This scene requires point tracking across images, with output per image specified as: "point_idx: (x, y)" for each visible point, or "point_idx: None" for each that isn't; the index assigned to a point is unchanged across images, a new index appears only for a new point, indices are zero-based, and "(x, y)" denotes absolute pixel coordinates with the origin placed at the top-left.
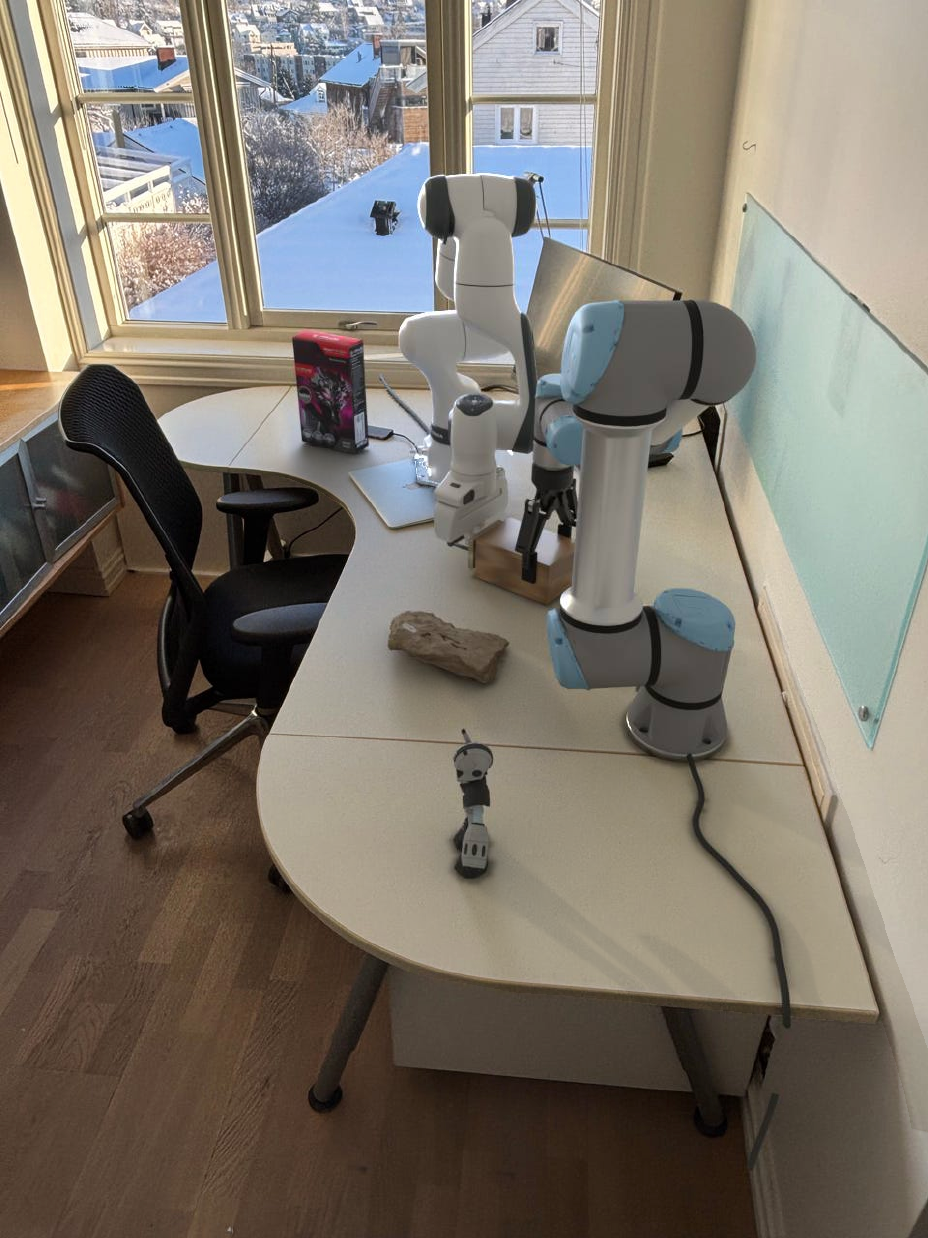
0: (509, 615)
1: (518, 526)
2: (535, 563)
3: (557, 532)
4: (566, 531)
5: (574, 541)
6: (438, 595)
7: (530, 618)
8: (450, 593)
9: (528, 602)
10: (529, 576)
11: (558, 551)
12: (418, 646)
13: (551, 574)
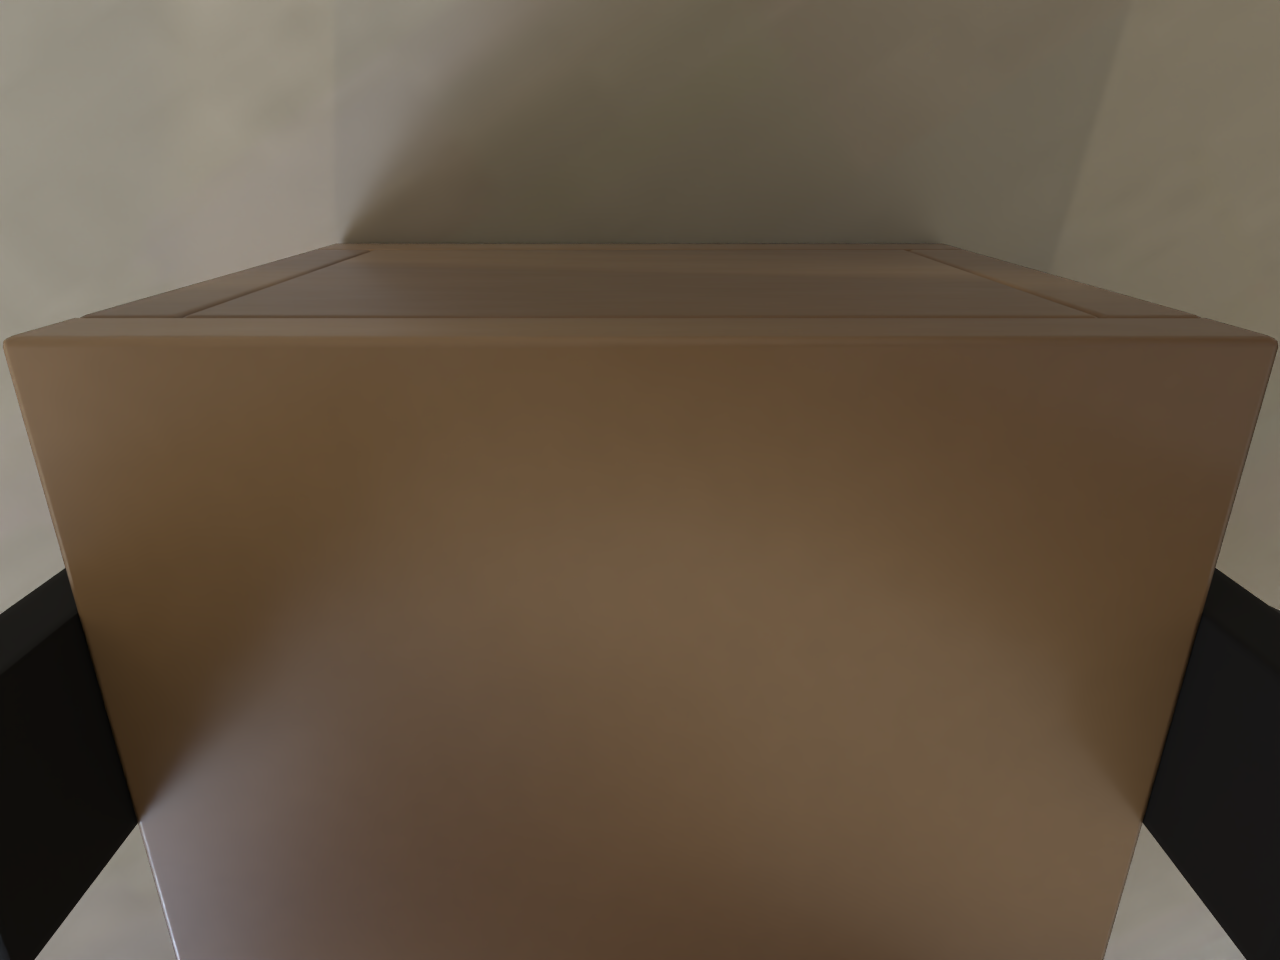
0: (1268, 431)
1: None
2: (1229, 599)
3: (122, 840)
4: (17, 746)
5: (103, 466)
6: (1215, 954)
7: (1239, 245)
8: (1153, 916)
9: None
10: None
11: (654, 502)
12: None
13: (1059, 298)
